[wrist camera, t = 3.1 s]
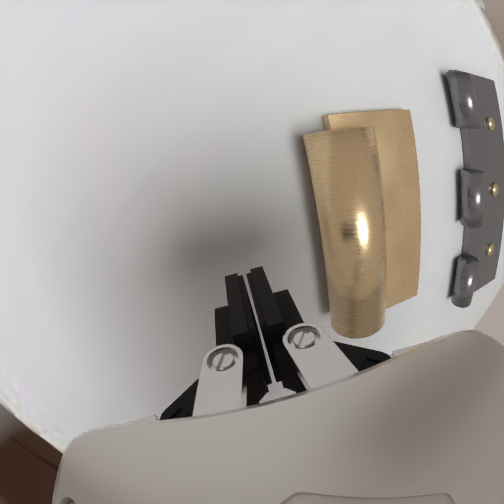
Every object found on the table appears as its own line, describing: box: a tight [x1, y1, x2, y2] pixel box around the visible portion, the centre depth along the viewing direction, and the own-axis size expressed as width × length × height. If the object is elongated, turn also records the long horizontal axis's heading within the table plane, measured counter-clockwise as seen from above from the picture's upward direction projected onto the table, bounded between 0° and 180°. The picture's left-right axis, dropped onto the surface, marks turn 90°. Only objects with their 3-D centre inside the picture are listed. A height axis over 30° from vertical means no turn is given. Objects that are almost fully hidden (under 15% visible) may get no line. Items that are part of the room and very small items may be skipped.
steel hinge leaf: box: [445, 70, 504, 308], centre depth 18 cm, size 24×10×3 cm, turn 13°
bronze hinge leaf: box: [303, 110, 421, 338], centre depth 17 cm, size 16×9×4 cm, turn 13°
